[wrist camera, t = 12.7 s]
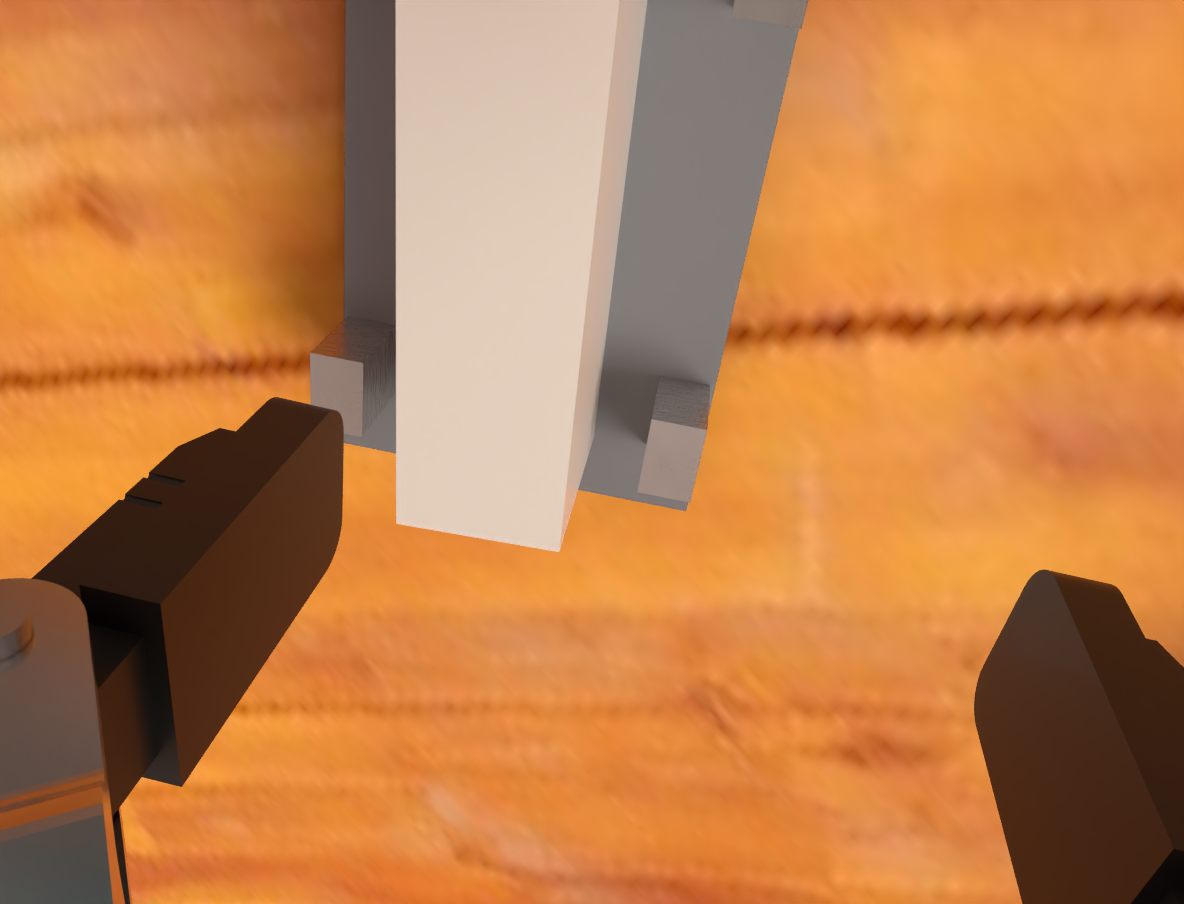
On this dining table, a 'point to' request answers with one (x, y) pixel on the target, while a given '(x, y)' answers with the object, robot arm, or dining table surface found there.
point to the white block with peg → (506, 253)
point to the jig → (645, 243)
